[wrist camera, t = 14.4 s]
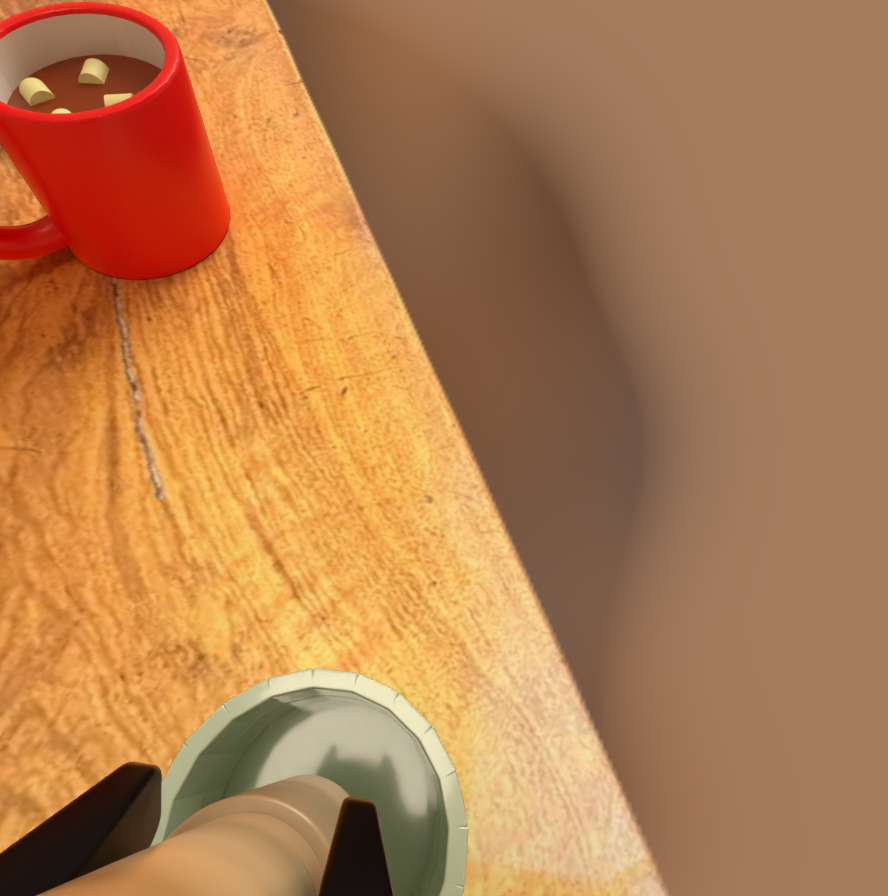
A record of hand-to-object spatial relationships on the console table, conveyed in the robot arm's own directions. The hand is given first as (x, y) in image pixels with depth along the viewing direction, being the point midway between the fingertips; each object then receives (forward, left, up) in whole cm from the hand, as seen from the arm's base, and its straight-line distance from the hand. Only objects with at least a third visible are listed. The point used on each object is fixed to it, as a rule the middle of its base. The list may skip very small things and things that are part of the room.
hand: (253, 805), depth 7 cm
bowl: (-1, 0, -13) cm, 13 cm away
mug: (+22, +15, -13) cm, 30 cm away
